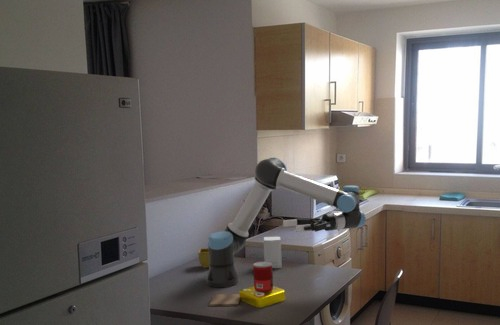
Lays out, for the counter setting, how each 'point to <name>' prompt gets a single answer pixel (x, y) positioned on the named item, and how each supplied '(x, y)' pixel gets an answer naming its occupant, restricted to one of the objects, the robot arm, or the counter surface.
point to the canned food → (263, 276)
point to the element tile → (261, 296)
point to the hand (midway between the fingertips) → (289, 226)
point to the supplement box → (273, 251)
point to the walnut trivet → (225, 300)
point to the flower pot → (204, 257)
